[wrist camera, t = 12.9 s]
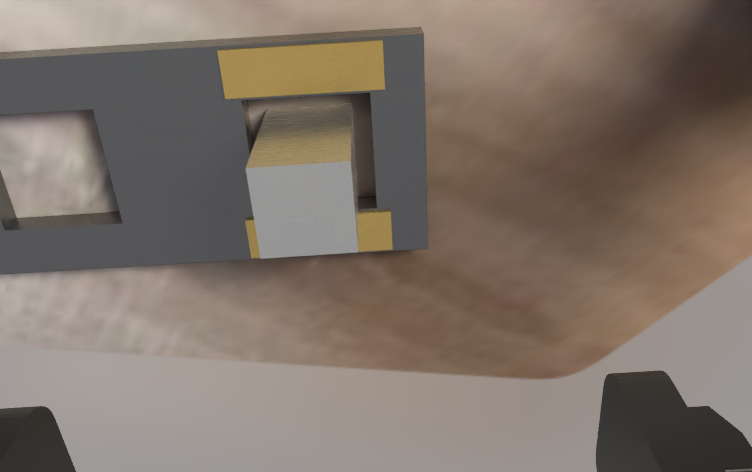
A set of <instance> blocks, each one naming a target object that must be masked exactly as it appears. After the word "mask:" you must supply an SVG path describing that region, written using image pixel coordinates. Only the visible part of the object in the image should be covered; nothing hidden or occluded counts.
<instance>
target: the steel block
mask: <svg viewBox="0 0 752 472" xmlns="http://www.w3.org/2000/svg"><path fill="white" fill-rule="evenodd" d="M246 174H247V180H248V186H249V192H250V198H251V204H252V210H253V216H254V222H255V228H256V234H257V240H258V246H259V252H260V258H261V259H265V258H280V257H295V256H310V255H325V254H340V253H355V252H358V178H357V166H356V154H355V141H354V129H353V117H352V104H338V105H323V106H309V107H294V108H280V109H267V110H266V113H265V116H264V119H263V121H262V124H261V127H260V130H259V132H258V135H257V138H256V141H255V143H254V146H253V149H252V152H251V154H250V157H249V160H248V163H247V165H246Z"/></svg>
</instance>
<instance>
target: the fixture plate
mask: <svg viewBox="0 0 752 472" xmlns="http://www.w3.org/2000/svg"><path fill="white" fill-rule="evenodd" d="M355 93H370V101H371V118H372V135H373V152H374V169H375V186H376V197H360V198H358V252H355V253H362V252H379V251H395V250H412V249H428V241H427V187H426V134H425V81H424V33H423V31H422V29H421V27H415V28H399V29H382V30H366V31H349V32H333V33H316V34H300V35H283V36H266V37H250V38H233V39H217V40H200V41H184V42H167V43H151V44H134V45H118V46H101V47H84V48H68V49H51V50H35V51H18V52H2V53H0V115H8V114H24V113H41V112H57V111H74V110H90V109H93V113H94V117H95V120H96V124H97V128H98V132H99V136H100V139H101V143H102V147H103V151H104V155H105V158H106V162H107V166H108V170H109V174H110V177H111V181H112V185H113V189H114V193H115V196H116V200H117V204H118V208H119V212H111V213H95V214H78V215H61V216H45V217H28V218H16V215H15V212H14V209H13V206H12V204H11V201H10V198H9V195H8V192H7V189H6V186H5V183H4V180H3V178H2V175H1V172H0V274H14V273H30V272H47V271H64V270H80V269H97V268H113V267H130V266H147V265H163V264H180V263H196V262H213V261H229V260H246V259H261V258H260V252H259V246H258V240H257V234H256V228H255V222H254V216H253V210H252V204H251V198H250V192H249V186H248V180H247V174H246V165H247V163H248V160H249V157H250V154H251V152H252V149H253V139H252V132H251V126H250V119H249V112H248V105H247V100H256V99H273V98H289V97H306V96H322V95H339V94H355ZM340 254H345V253H340ZM325 255H329V254H325ZM310 256H312V255H310ZM295 257H296V256H295Z"/></svg>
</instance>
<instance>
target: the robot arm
mask: <svg viewBox="0 0 752 472" xmlns="http://www.w3.org/2000/svg"><path fill="white" fill-rule="evenodd" d="M596 466H597V472H752V447H751V446H750V444H749V443H748V441H747V439H746V438H745V437H744V435H743V433H742V432H740V431H739V430H738V429H737V428H735V427H734V426H733V425H732V424H730V423H729V422H728V421H727V420H725V419H724V418H723V417H722V416H720V415H719V414H718V413H716V412H715V411H714V410H713V409H711V408H710V407H709V406H701V407H687V406H686V404H685V402H684V400H683V399H682V397H681V395H680V394H679V392H678V390H677V389H676V387H675V385H674V384H673V382H672V380H671V379H670V377H669V376H668V375H667V374H666V373H665V372H664V371H646V372H631V373H613V374H608V375H607V376H606V378H605V381H604V387H603V396H602V404H601V413H600V421H599V431H598V439H597V447H596ZM0 472H76V471H75V468H74V466H73V463H72V461H71V458H70V456H69V453H68V451H67V448H66V445H65V443H64V440H63V438H62V436H61V433H60V430H59V428H58V425H57V423H56V420H55V418H54V416H53V414H52V412H51V411H50V410H49V409H48V408H46V407H42V406H40V407H22V408H6V409H0Z"/></svg>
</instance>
